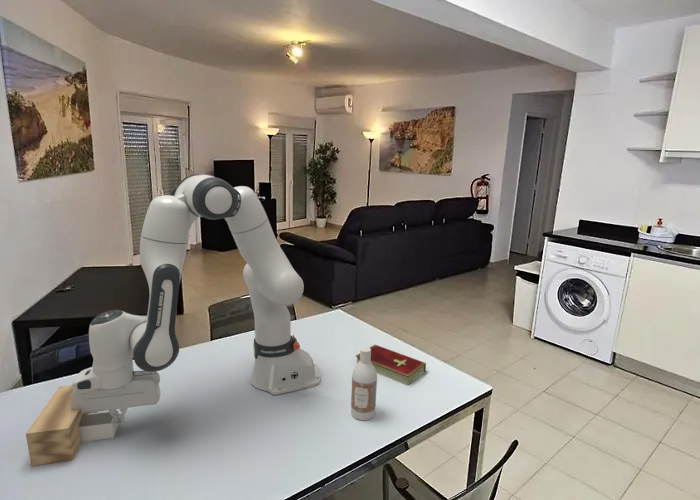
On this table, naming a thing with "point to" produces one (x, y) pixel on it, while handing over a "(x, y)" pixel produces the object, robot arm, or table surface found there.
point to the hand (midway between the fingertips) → (120, 421)
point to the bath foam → (364, 387)
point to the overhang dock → (55, 430)
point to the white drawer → (97, 426)
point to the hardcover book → (395, 364)
